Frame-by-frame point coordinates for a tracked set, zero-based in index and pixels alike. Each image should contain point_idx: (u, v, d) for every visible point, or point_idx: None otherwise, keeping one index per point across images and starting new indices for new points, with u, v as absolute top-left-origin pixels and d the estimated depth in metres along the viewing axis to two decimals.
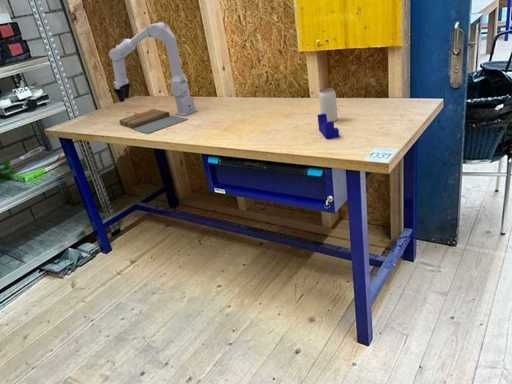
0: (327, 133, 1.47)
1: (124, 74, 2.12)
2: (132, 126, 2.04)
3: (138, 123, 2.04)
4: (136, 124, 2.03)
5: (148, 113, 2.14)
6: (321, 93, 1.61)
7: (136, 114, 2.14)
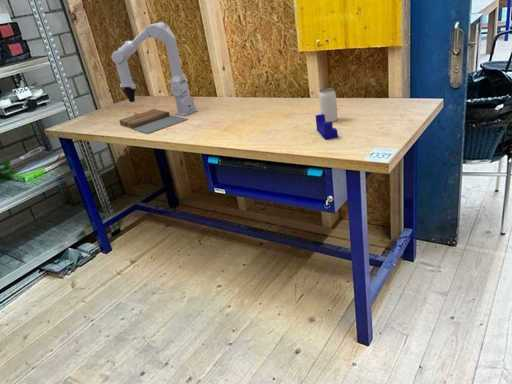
0: (326, 133, 1.47)
1: (130, 75, 2.14)
2: (132, 126, 2.04)
3: (138, 123, 2.04)
4: (136, 124, 2.03)
5: (148, 113, 2.14)
6: (321, 93, 1.61)
7: (136, 114, 2.14)
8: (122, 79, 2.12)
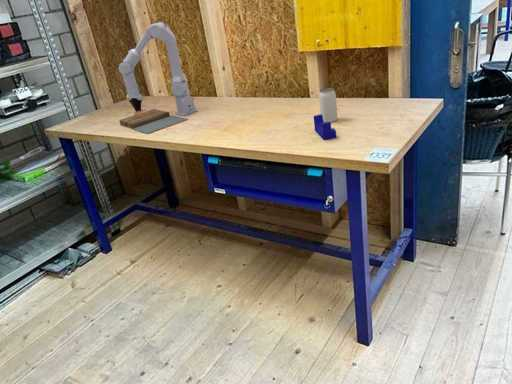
0: (324, 134, 1.47)
1: (137, 86, 2.14)
2: (132, 126, 2.04)
3: (138, 123, 2.04)
4: (136, 124, 2.03)
5: (148, 113, 2.14)
6: (321, 93, 1.61)
7: (136, 114, 2.14)
8: (129, 90, 2.11)
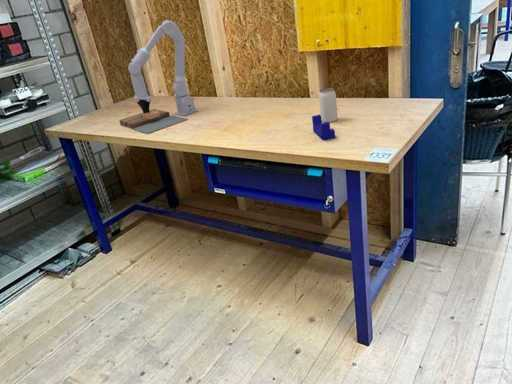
0: (323, 134, 1.46)
1: (145, 87, 2.07)
2: (132, 126, 2.04)
3: (138, 123, 2.04)
4: (136, 124, 2.03)
5: (157, 115, 2.07)
6: (321, 93, 1.61)
7: (144, 116, 2.08)
8: (137, 91, 2.04)
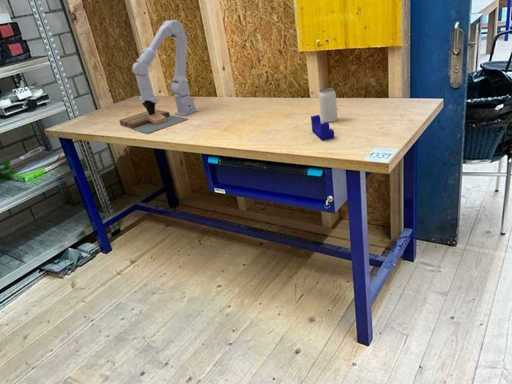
0: (322, 134, 1.46)
1: None
2: (132, 126, 2.04)
3: (138, 123, 2.04)
4: (136, 124, 2.03)
5: (163, 120, 2.04)
6: (321, 93, 1.61)
7: (150, 119, 2.04)
8: (142, 92, 2.00)
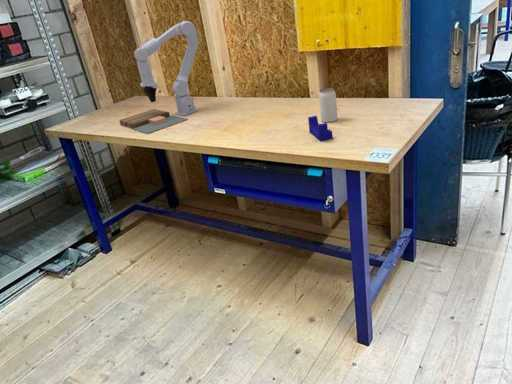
0: (321, 135, 1.46)
1: (151, 73, 2.05)
2: (132, 126, 2.04)
3: (138, 123, 2.04)
4: (136, 124, 2.03)
5: (163, 120, 2.04)
6: (321, 93, 1.61)
7: (151, 121, 2.04)
8: (143, 78, 2.03)
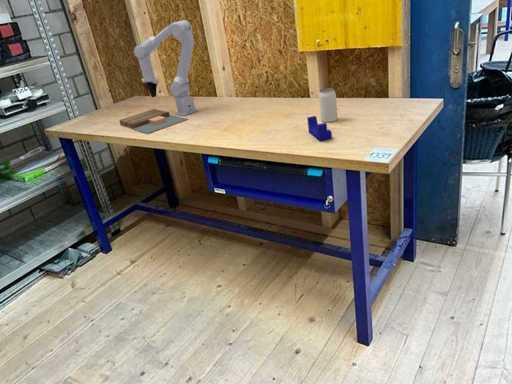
0: (320, 135, 1.46)
1: (152, 69, 2.13)
2: (132, 126, 2.04)
3: (138, 123, 2.04)
4: (136, 124, 2.03)
5: (163, 120, 2.04)
6: (321, 93, 1.61)
7: (151, 121, 2.04)
8: (144, 74, 2.11)
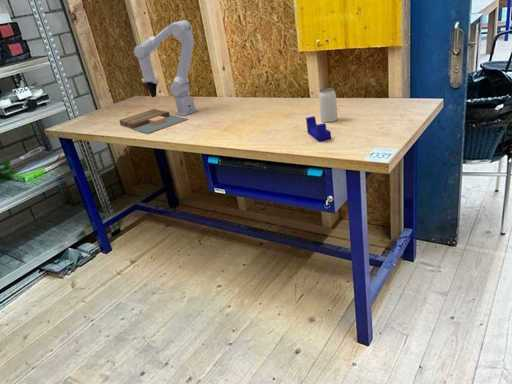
0: (319, 136, 1.46)
1: (152, 69, 2.13)
2: (132, 126, 2.04)
3: (138, 123, 2.04)
4: (136, 124, 2.03)
5: (163, 120, 2.04)
6: (321, 93, 1.61)
7: (151, 121, 2.04)
8: (144, 74, 2.11)
